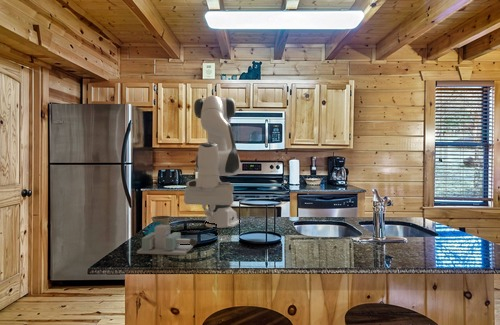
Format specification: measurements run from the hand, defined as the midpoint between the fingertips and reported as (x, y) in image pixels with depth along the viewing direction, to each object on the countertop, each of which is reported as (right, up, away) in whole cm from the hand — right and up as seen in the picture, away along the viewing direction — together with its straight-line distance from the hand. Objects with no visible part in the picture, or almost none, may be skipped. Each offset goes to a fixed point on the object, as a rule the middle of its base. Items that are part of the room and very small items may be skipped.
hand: (209, 215), depth 134 cm
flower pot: (-28, -14, +28) cm, 42 cm away
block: (-20, -14, +2) cm, 24 cm away
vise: (-18, -15, +2) cm, 24 cm away
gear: (-28, -15, +20) cm, 37 cm away
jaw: (-11, -14, +1) cm, 18 cm away
